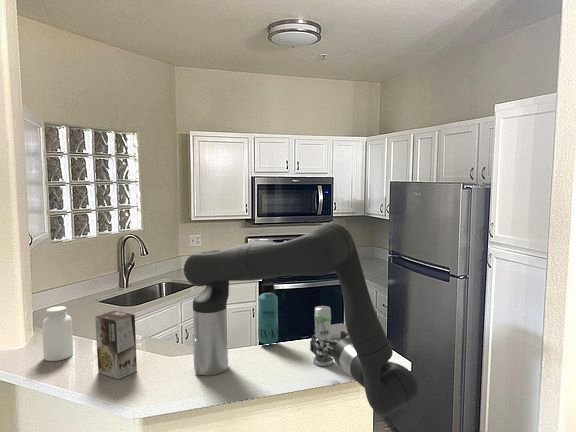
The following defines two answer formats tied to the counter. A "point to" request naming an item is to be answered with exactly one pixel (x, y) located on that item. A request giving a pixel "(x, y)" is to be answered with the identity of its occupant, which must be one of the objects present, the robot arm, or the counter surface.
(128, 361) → the coffee box
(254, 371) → the counter surface
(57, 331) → the pill bottle
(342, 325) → the stand block
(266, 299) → the beverage bottle
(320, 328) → the clear glass cylinder
